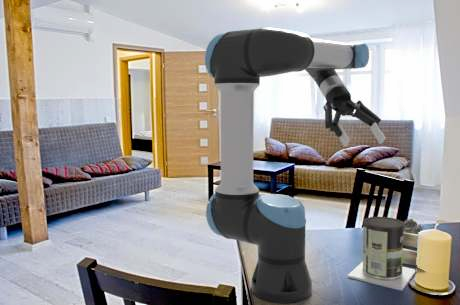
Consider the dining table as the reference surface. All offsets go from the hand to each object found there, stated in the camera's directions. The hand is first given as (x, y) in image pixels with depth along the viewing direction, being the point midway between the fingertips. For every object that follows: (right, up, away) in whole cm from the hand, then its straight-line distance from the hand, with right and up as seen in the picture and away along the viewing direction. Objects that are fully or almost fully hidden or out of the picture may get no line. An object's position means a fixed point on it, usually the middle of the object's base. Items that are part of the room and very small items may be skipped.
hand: (365, 142), depth 130 cm
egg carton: (+20, -32, +19) cm, 42 cm away
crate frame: (+11, -34, +1) cm, 35 cm away
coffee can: (0, -36, -15) cm, 38 cm away
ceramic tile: (0, -36, -14) cm, 39 cm away
